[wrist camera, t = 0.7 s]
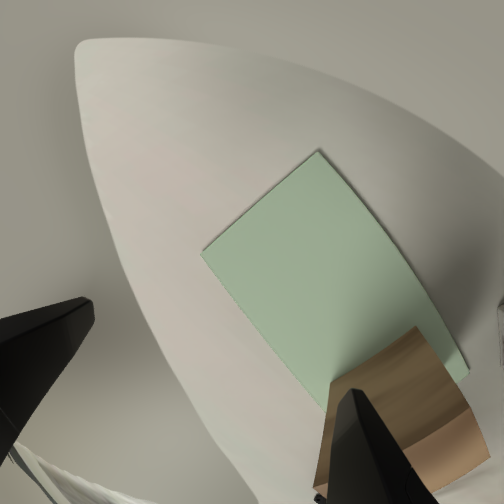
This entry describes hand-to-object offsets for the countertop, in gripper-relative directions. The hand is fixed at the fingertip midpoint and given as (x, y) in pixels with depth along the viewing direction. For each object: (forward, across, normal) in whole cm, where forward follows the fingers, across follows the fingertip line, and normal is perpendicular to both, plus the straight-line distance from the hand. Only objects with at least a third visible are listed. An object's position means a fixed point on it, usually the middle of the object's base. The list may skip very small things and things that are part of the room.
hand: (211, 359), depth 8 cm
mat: (+11, -8, +4) cm, 14 cm away
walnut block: (+9, -12, +7) cm, 17 cm away
